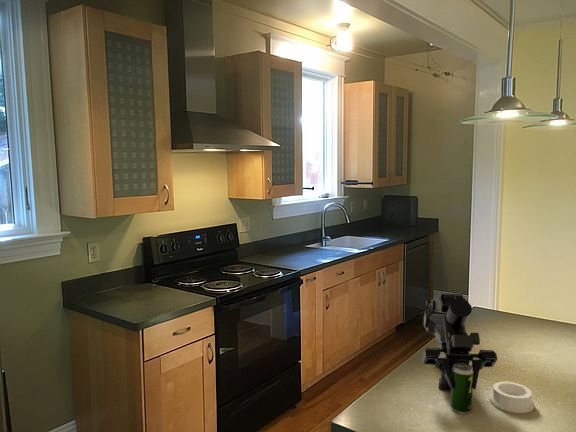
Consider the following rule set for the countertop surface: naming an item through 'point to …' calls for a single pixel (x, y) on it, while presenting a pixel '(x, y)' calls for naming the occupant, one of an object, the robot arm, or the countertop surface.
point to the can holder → (512, 398)
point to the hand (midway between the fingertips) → (463, 388)
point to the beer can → (462, 388)
